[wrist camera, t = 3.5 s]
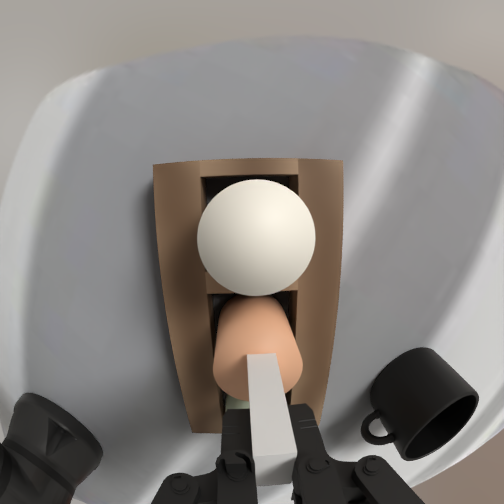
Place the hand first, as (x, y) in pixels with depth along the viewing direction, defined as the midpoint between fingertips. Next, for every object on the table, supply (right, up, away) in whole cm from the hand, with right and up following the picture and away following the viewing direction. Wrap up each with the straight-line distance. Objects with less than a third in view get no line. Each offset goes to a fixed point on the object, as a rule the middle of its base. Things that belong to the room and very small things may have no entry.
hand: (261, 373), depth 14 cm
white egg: (-1, +8, +3) cm, 9 cm away
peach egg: (-1, +1, +6) cm, 6 cm away
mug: (+16, -8, +11) cm, 21 cm away
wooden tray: (-1, +2, +8) cm, 8 cm away
